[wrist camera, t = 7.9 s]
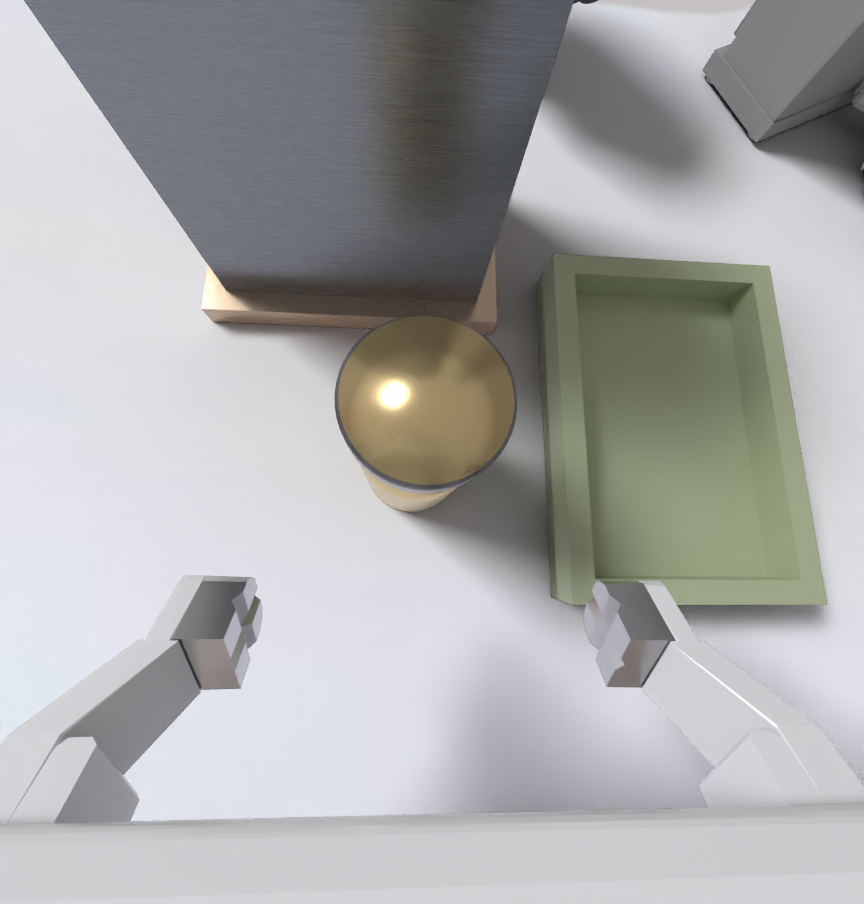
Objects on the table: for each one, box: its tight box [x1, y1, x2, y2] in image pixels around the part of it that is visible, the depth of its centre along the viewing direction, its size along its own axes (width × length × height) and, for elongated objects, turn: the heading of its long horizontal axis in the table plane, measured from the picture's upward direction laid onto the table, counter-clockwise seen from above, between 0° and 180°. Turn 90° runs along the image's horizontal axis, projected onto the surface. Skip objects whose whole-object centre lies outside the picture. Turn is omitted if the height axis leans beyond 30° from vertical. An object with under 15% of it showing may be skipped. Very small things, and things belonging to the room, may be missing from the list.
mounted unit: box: [24, 0, 574, 334], centre depth 13 cm, size 10×14×21 cm
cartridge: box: [335, 314, 517, 512], centre depth 16 cm, size 5×5×10 cm
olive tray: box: [537, 254, 827, 605], centre depth 20 cm, size 16×11×2 cm
